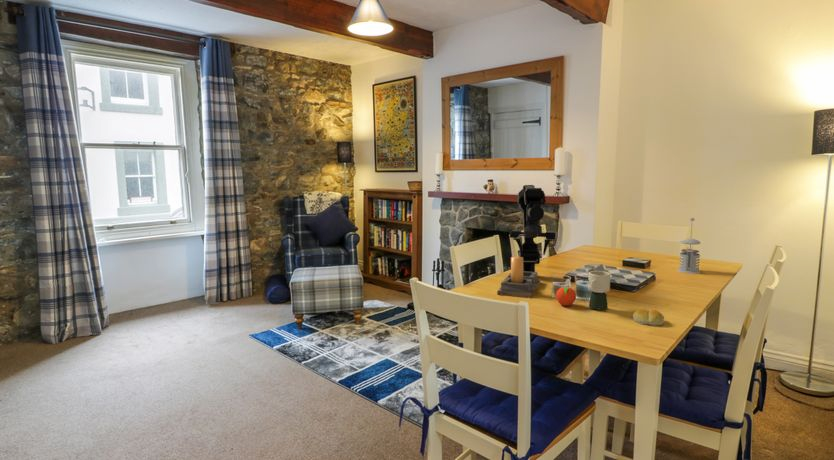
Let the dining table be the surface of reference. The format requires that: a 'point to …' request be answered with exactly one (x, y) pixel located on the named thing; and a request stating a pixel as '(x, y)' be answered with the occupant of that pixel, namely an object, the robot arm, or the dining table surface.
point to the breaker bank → (520, 285)
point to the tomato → (566, 296)
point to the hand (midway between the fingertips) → (532, 254)
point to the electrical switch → (597, 268)
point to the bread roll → (648, 317)
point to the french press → (689, 257)
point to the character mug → (599, 289)
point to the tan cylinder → (517, 270)
